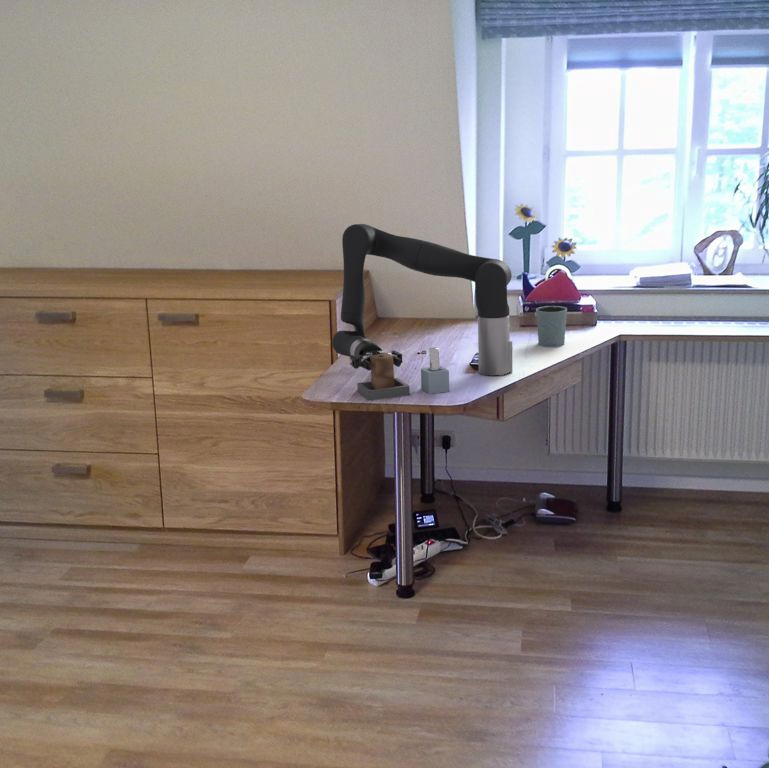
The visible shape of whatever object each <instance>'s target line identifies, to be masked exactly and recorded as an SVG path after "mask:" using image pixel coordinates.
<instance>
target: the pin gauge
mask: <svg viewBox="0 0 769 768" xmlns="http://www.w3.org/2000/svg"><path fill="white" fill-rule="evenodd" d="M439 366H440V348H439V347H435V346H434V347H430V348H429V367H430V371H431V372H432V371H439Z"/></svg>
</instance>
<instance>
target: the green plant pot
mask: <svg viewBox="0 0 769 768" xmlns="http://www.w3.org/2000/svg"><path fill="white" fill-rule="evenodd" d="M535 314H536V321H537V322H536V324H537V339H538V341H537V343H538V345H539V346H541V347H544V348H545V347H548V348H554V347H555V348H556V347H563V346H564V345H565V341H566V340H565V338H566V336H565V335H566V326H567V314H568V308H567V307H566V306H560V305H557V306H556V305H545V306H539V307H537V308H535Z"/></svg>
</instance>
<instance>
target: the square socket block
mask: <svg viewBox="0 0 769 768" xmlns="http://www.w3.org/2000/svg"><path fill="white" fill-rule="evenodd" d="M420 381H421V383H420V384H421V385H420V386H421V387H420V388H421V390H422V391H424V392H425V393H427V394H428V395H435V394H441V393H447V392H448V391H449V392H450V370H449V369H447V368H445V367H444V366H442V365H439V371H432V372H431V371H430V366H429V367H421V368H420Z"/></svg>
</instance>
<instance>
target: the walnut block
mask: <svg viewBox="0 0 769 768" xmlns="http://www.w3.org/2000/svg"><path fill="white" fill-rule="evenodd" d="M388 353H389V352H388ZM388 353H385V354H377V355H370V361H371V370H370V377H371V382H372V390H375V389H383V388H390V387H394V378H395V374H394V373H395V371H394V370H395V369H394V366H395V365H394V364H393V357H392V356H391V355H389V354H388Z"/></svg>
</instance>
